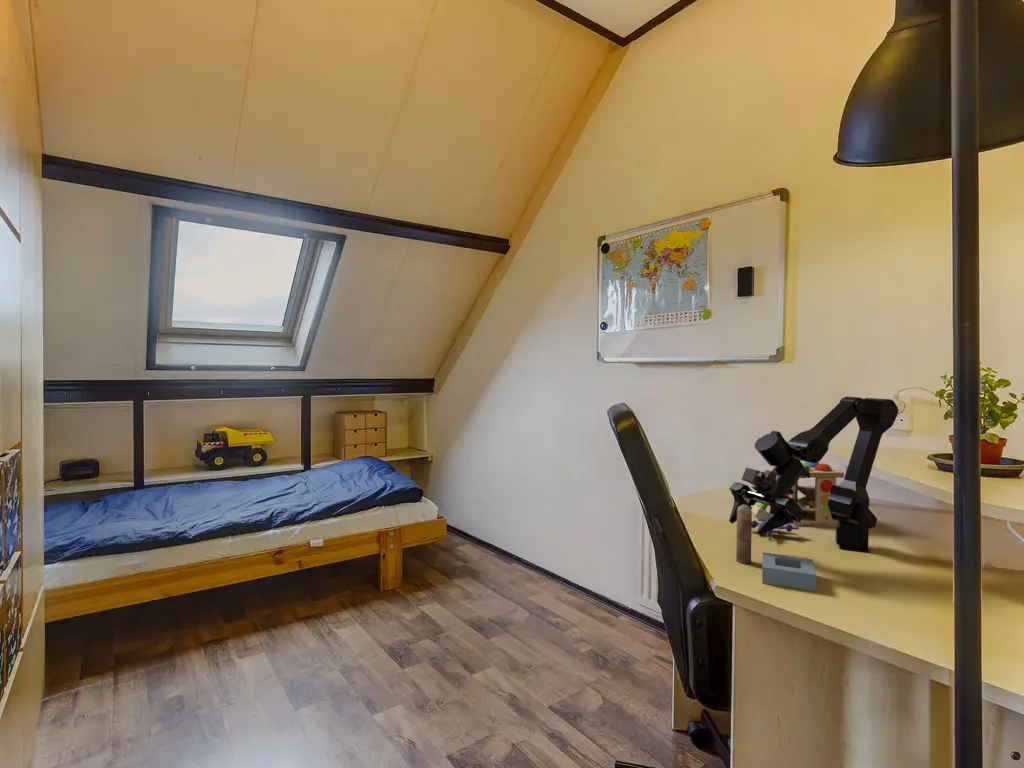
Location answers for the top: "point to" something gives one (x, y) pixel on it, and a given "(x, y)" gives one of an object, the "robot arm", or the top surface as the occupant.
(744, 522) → the walnut peg
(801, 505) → the pounding bench toy
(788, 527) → the toy airplane
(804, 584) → the slotted blue base
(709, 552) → the top surface
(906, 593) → the top surface
